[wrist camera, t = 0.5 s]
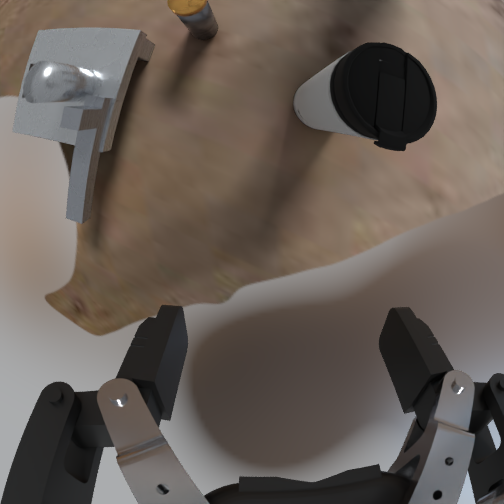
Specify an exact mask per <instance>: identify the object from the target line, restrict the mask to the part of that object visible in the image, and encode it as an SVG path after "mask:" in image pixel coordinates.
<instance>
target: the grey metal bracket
mask: <svg viewBox="0 0 504 504" xmlns="http://www.w3.org/2000/svg"><path fill="white" fill-rule="evenodd" d="M146 36H147V34H145V33H144V32H142V31H141V30H133V29H118V28H63V29H49V30H39V31H38V34H37V37H36V39H35V42H34V45H33V48H32V51H31V54H30V57H29V60H28V63H27V67H26V70H25V74H24V78H23V81H22V85H21V90H20V94H19V98H18V103H17V108H16V113H15V119H14V125H13V132H15V133H20V134H25V135H31V136H35V137H40V138H45V139H49V140H54V141H58V142H62V143H67V144H71V145H75V148H74V154H73V160H72V166H71V173H70V181H69V190H68V199H67V200H68V201H67V212H66V218H67V219H70V220H73V221H76V222H78V223H81V224H82V223H84V222H85V221H86V220H88V219H89V218H90V216H91V207H92V199H93V192H94V185H95V179H96V173H97V167H98V162H99V157H100V152H105V151H109V150H111V147H112V143H113V138H114V134H115V130H116V126H117V122H118V119H119V115H120V111H121V108H122V104H123V101H124V98H125V94H126V91H127V88H128V85H129V82H130V79H131V76H132V73H133V70H134V67H135V64H136V62H137V60H143V61H149V59H150V56H151V54H152V51H153V49H154V46H155V44H154V43H152V42H151V41H149V40H148V39H146Z"/></svg>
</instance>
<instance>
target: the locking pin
mask: <svg viewBox="0 0 504 504" xmlns="http://www.w3.org/2000/svg"><path fill="white" fill-rule="evenodd" d="M167 2H168V6H169V8H170V9H171V10H172V12H173V13H175V14H176V15H177V16H178V17H179V18H180V20H181V21H182V22H183V23H184V25H185V26H186V27H187V28H188V30H189V31H190V32H191V34H192V35H193V36H194V37H195V38H197V39H199V40H207V39H210V38H212V37H213V36H214V35H215V34H216V33H217V31H218V24H217V22H216V20H215V17H214V15H213V12H212V10H211V8H210V5H209V3H208V1H207V0H168V1H167Z"/></svg>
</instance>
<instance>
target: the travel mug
mask: <svg viewBox="0 0 504 504" xmlns="http://www.w3.org/2000/svg"><path fill="white" fill-rule="evenodd" d="M293 106H294V110H295V113H296V115H297V116H298V118H299V119H300V120H301V121H302V122H303V123H304V124H305V125H307V126H308V127H311V128H314V129H318V130H324V131H330V132H336V133H342V134H347V135H352V136H358V137H362V138H368V139H373V140H378V141H374V144H375V145H377V146H378V147H381V148H385V149H389V150H394V151H405V149H406V144H407V143H412V142H415V141H417V140H419V139H420V138H422V137H424V135H425V134H426V133H427V132H428V131H429V130H430V128H431V126H432V125H433V123H434V120H435V117H436V111H437V98H436V92H435V88H434V85H433V83H432V80H431V78H430V76H429V74H428V73H427V71H426V69H425V68H424V67H423V65H422V64H421V63H420V62H419V61H418V60H417V59H416V58H414V57H413V56H412V55H410V54H409V53H406V52H404V51H403V50H402V49H401V48H398V47H396V46H394V45H391V44H387V43H365V44H363V45H361V46H359V47H357V48H356V49H354V50H352V51H351V52H348V53H346V54H345V55H343V56H342V57H340V58H339V59H337V60H336V61H334V62H333V63H331V64H330V65H328V66H327V67H326V68H324V69H323V70H321V71H320V72H319V73H317V74H316V75H314V76H313V77H312V78H310V79H309V80H308V81H306V82H305V83H303V84H302V85H301V86H300V87H299V88H298V89H297V91H296V93H295V95H294V100H293Z"/></svg>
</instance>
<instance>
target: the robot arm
mask: <svg viewBox="0 0 504 504" xmlns="http://www.w3.org/2000/svg"><path fill="white" fill-rule="evenodd" d="M187 348H188V336H187V330H186V324H185V318H184V311H183V308H182V306H171V305H162V306H161V308H160V310H159V312H158V314H157V317H156V318H151V317H148V318H147V319H146V320H145V321H144V322H143V323H142V324H141V325H140V326H139V328H138V330H137V332H136V334H135V338H133V340H132V343H131V346H130V347H129V349H128V352H127V354H126V356H125V358H124V361H123V363H122V365H121V367H120V370H119V372H118V374H117V376H116V378H115V379H112V380H110V381H108V382H106V383H105V384H103V385H102V386H101V388H100V389H99V390H98V391H87V392H74V390H73V389H72V387H71V386H70V385H69V384H67V383H64V382H54V383H51V384H49V385H48V386H46V387H45V388H44V389H43V390H42V392H41V394H40V396H39V398H38V400H37V403H36V405H35V407H34V409H33V412H32V414H31V416H30V418H29V421H28V423H27V426H26V428H25V430H24V433H23V435H22V438H21V441H20V443H19V446H18V449H17V452H16V454H15V457H14V460H13V463H12V466H11V469H10V472H9V475H8V479H7V482H6V485H5V489H4V493H3V496H2V500H1V504H91V502H92V497H93V492H94V487H95V482H96V477H97V473H98V469H99V464H100V460H101V456H102V452H103V448H104V447H115V449H116V451H117V454H118V456H117V457H116V459H117V462H118V465H119V467H120V469H121V471H122V473H123V475H124V477H125V480H126V481H127V483H128V485H129V487H130V489H131V491H132V493H133V495H134V496H135V498H136V500H137V502H138V504H457V502H458V499H459V497H460V494H461V491H462V488H463V484H464V481H465V477H466V474H467V471H468V473H469V477H470V480H471V484H472V489H473V493H474V498H475V503H476V504H504V374H501V373H497V374H494V375H493V376H492V377H491V378H490V380H489V381H488V382H487V383H478V382H473V381H472V379H471V378H470V377H469V375H467V374H466V373H464V372H462V371H459V370H454V369H453V367H452V365H451V364H450V362H449V360H448V358H447V357H446V355H445V353H444V351H443V350H442V348H441V346H440V345H439V344H438V341H437V340H436V338H435V337H434V335H433V333H432V332H431V330H430V328H429V327H428V326H427V325H426V324H425V323H424V322H423V321H422V320H420V319H417V318H416V316H415V315H414V313H413V311H412V310H411V309H410V308H409V307H398V308H392V309H390V311H389V313H388V316H387V318H386V321H385V324H384V327H383V329H382V332H381V335H380V338H379V349H380V352H381V354H382V357H383V359H384V362H385V364H386V367H387V369H388V372H389V374H390V377H391V380H392V382H393V385H394V387H395V390H396V393H397V395H398V398H399V401H400V403H401V406H402V409H403V412H404V413H409V412H413V411H415V414H416V416H415V418H414V419H413V421H412V424H411V427H410V429H409V432H408V434H407V437H406V439H405V441H404V444H403V446H402V448H401V451H400V453H399V455H398V457H397V459H396V461H395V462H394V463H393V464H392V466H391V467H390V469H389V470H388V472H384V471H381V470H380V466H379V464H377V465H373V466H368V467H363V468H357V469H352V470H347V471H345V472H342V473H339V474H337V475H334V476H331V477H329V478H326V479H323V480H320V481H317V482H304V481H298V480H291V479H285V478H280V477H239V483H236V484H231V485H227V486H223V487H221V488H218V489H216V490H214V491H211V492H210V493H208V494H206V495H205V496H203V494H202V493H201V492H200V490H199V489H198V488H197V486H196V485H195V484H194V482H193V481H192V479H191V478H190V476H189V475H188V473H187V472H186V471H185V469H184V468H183V466H182V465H181V463H180V461H179V460H178V458H177V457H176V455H175V454H174V452H173V450H172V449H171V447H170V446H169V444H168V442H167V441H166V439H165V438H164V436H163V435H162V433H161V431H160V430H159V425H160V421H161V419H163V420H169V421H170V419H171V415H172V411H173V406H174V402H175V398H176V394H177V390H178V385H179V381H180V377H181V373H182V369H183V365H184V361H185V357H186V353H187ZM492 420H494V422H495V425H496V427H497V430H498V432H499V435H500V437H501V444H500V447H499V448H498V449H497V450H496V448H495V445H494V442H493V439H492V436H491V434H490V431H489V429H488V426H487V425H488V424H489V423H490V422H491V421H492Z"/></svg>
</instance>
